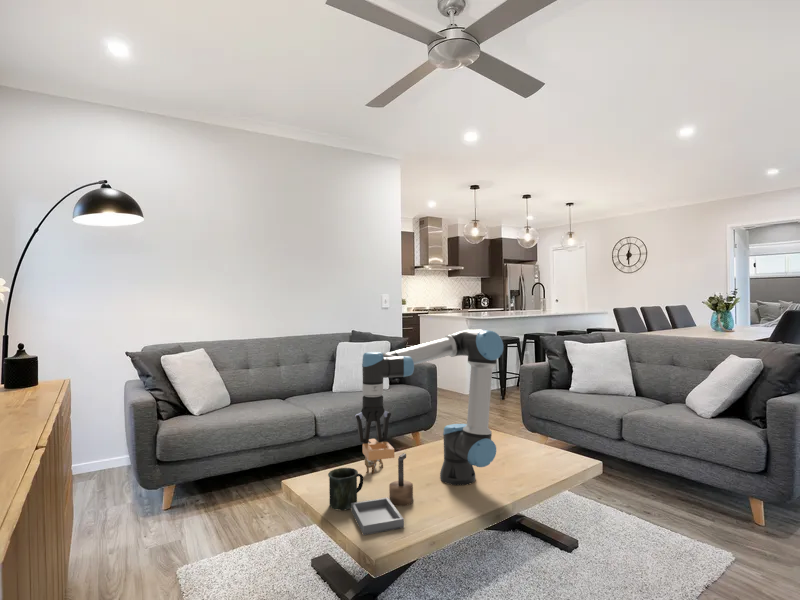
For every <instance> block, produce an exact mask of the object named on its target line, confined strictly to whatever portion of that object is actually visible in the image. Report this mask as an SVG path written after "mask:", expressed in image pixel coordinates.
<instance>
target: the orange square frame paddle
mask: <svg viewBox="0 0 800 600" xmlns="http://www.w3.org/2000/svg"><path fill="white" fill-rule="evenodd" d="M362 454H363V455H364V457H366V458H367V459H368V460H369V461H371V460H379V459H381V460H386V459H394V458H395V448H394V446H392V445H391V444H390V442H388V441H383V442H378V439H376V438H369V443H367V444H364V443H362Z"/></svg>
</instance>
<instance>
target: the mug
mask: <svg viewBox="0 0 800 600" xmlns="http://www.w3.org/2000/svg"><path fill="white" fill-rule="evenodd" d="M327 476H328V478H329V479H328V481H329V482H328V483H329V489H328V490H329V492H328V493H329V507H330V508H331V509H332V510H336V511H347V510H351V503H355V502H358V493H359V492H360V491H362V488H363V485H364V475H362V473H359V472H358V470H357V469H355V468H352V467H339V468H334V469H332V470H330V471H329V472H328V474H327ZM357 477H359V484H358V478H357Z"/></svg>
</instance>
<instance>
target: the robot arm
mask: <svg viewBox="0 0 800 600" xmlns="http://www.w3.org/2000/svg"><path fill="white" fill-rule="evenodd" d="M503 352H504V342H503V339H502V338H501V336H500V335H499V334H498V333H497V332H496V331H493V330H489V329H474V328H472V329H471V328H469V329H465V330H461V331H457V332H454V333H450V334H447V335H445V337H443V338H440V339H436V340H433V341H430V342H425V343H421V344H417V345H413V346H409V347H406V348H405V347H404V348H401V349H396V350H393V351H389V352H380V351H367V352H364V353H363V355H362V363H361V369H362V395H363V396H362V409H361V412H358V413H355V414H354V417H355V420H356V425H357V433H358V434H357V435H358V441H359V442H360V443H362V444H367V443H369V439H370V433H371V426H372V422H375V423H374V424H375V430H376V438H377V439H376V440H377V441H378V442H385V441H387V440H388V432H389V424H390V423H389V422H390V418H391V416H392V413H391V412H389V411H387V410H385V408H384V396H383V395H384V379H387V378H402V377H403V378H405V377H409V376H412V375H413V373H414V372H415V371H414V370H415V365H418V364H422V363H423V364H424V363H427V362H429V361H433V360H437V359H441V358H446V357H451V358H454V357H459V356H460V357H461V356H466V357H467V363H468V364H469V366H470V376H469V390H468V402H467V404H468V405H467V417H466V418H467V419H466V423H452V424H447V425H445V426H444V428H443V434H442V435H443V463H442V466H441V469H440V473H439V479H440V481H441V482H443V483H445V484H447V485H451V484H452V486H466V485H467V484H468V485H471V484H473V483H474V482H476V472H475V469H474V466H475V467H477V468H485V467H487V466H489V465H490V464H491V463H492V462H493V461H494V459H495V458H496V455H497V445H496V444H495V442H494V440H492V434H493V433H492V430H491V429H490V428H489V421H490V407H491V391H492V378H493V377H492V376H493V368H494V367H495V366H497V363H498V362H497V360H498V359H499V358H501V356H502V355H503ZM363 417H364V419H365V425H364V426H365V428H364V430H363V422H362V419H363ZM382 417H383V424H382V428H381V418H382ZM367 461H368V462H371V461H369V460H368V459H367ZM377 462H379V460H377ZM470 483H471V484H470Z"/></svg>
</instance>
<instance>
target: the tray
mask: <svg viewBox="0 0 800 600" xmlns="http://www.w3.org/2000/svg"><path fill="white" fill-rule="evenodd" d="M350 512H351V514H352V516H353V517H354V520H355V519H356V520H355V522H356V521H357V522H356V524H357V523H358V524H357V526H358V525H359V526H358V528H359V527H360V528H359V530H360V529H361V530H360V532H361V531H362V532H361V533H363V534H362V535H363V536H367V535H368V536H369V535H372V534H378V533H382V532H389V531H394V530H400V529H404V528H405V519H404V517H403V515H402V514H401V513H400V512H399V510H398V509H397V508H396V505H393V504H392V502H391V501H390V499H389V497H381V498H375V499H370V500H363V501H357V502H355V503H351V509H350Z"/></svg>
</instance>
